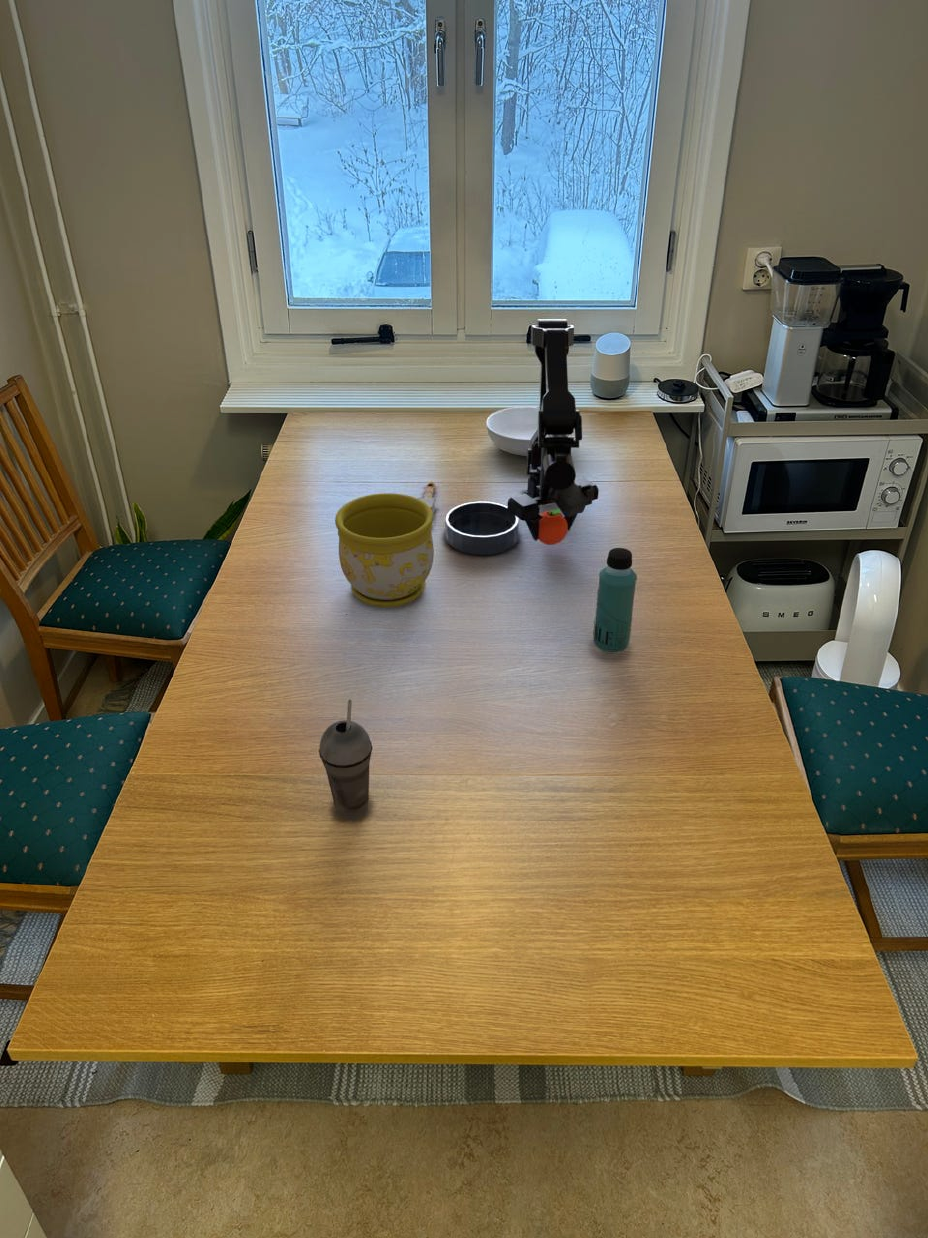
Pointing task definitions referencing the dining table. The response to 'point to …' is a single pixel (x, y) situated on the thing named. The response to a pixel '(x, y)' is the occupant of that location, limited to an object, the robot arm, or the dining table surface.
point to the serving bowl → (513, 428)
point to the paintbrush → (429, 496)
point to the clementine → (552, 527)
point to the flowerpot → (386, 547)
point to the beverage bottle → (615, 602)
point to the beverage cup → (347, 765)
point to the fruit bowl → (481, 528)
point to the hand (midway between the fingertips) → (551, 534)
